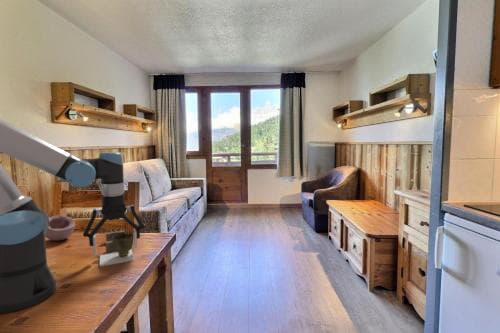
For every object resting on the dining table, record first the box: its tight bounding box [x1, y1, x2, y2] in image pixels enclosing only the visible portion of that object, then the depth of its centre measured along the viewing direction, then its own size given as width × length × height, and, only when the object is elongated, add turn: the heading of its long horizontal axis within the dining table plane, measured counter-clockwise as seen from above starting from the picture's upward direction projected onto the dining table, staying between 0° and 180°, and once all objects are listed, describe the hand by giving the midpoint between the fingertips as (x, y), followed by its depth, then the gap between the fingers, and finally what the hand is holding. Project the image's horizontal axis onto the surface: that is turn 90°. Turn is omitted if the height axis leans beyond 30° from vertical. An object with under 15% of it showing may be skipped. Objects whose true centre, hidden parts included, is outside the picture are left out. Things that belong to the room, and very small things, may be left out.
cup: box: [112, 231, 134, 257], centre depth 102 cm, size 8×7×8 cm
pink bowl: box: [45, 214, 76, 242], centre depth 121 cm, size 12×12×11 cm
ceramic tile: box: [99, 248, 135, 267], centre depth 101 cm, size 10×11×1 cm
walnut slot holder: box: [105, 229, 125, 254], centre depth 114 cm, size 7×14×4 cm, turn 28°
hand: (116, 250), depth 101 cm, fingers open, 13 cm apart
